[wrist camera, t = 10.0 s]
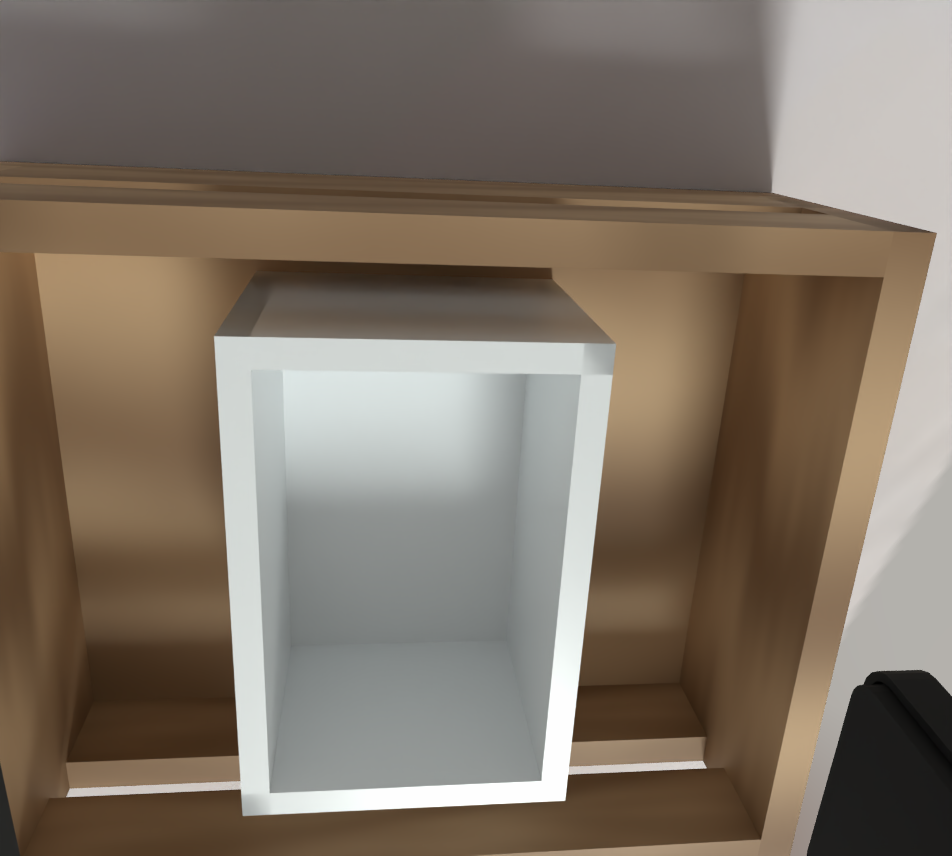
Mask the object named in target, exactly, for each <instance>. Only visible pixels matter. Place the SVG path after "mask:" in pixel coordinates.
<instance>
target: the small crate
mask: <svg viewBox="0 0 952 856" xmlns="http://www.w3.org/2000/svg"><path fill="white" fill-rule="evenodd" d="M214 344H215V361H216V378H217V395H218V411H219V428H220V445H221V462H222V479H223V495H224V512H225V529H226V546H227V563H228V579H229V596H230V613H231V630H232V646H233V663H234V680H235V697H236V714H237V730H238V747H239V764H240V781H241V798H242V814H243V816H254V815H275V814H296V813H317V812H338V811H359V810H380V809H401V808H422V807H442V806H463V805H484V804H505V803H526V802H547V801H565V798H566V789H567V780H568V771H569V762H570V753H571V744H572V735H573V726H574V717H575V708H576V699H577V691H578V682H579V673H580V664H581V655H582V646H583V637H584V628H585V619H586V610H587V601H588V592H589V583H590V574H591V565H592V556H593V547H594V538H595V529H596V521H597V512H598V503H599V494H600V485H601V476H602V467H603V458H604V449H605V440H606V431H607V422H608V413H609V404H610V395H611V386H612V377H613V368H614V360H615V351H616V343H615V342H614V341H613V340H612V339H611V338H610V337H609V336H608V335H607V334H606V333H605V332H604V331H603V330H602V329H601V328H600V327H599V326H598V325H597V324H596V323H595V322H594V321H593V320H592V319H591V318H590V317H589V316H588V315H587V314H586V313H585V312H584V311H583V310H582V309H581V308H580V307H579V306H578V305H577V304H576V303H575V302H574V300H573V299H572V298H571V297H570V296H569V295H568V294H567V293H566V292H565V291H564V290H563V289H562V288H561V287H560V286H559V285H558V284H557V283H556V282H555V281H554V280H553V279H524V278H488V277H453V276H418V275H383V274H348V273H312V272H277V271H256V273H255V274H254V276H253V277H252V279H251V280H250V282H249V283H248V285H247V286H246V288H245V290H244V291H243V293H242V294H241V296H240V297H239V299H238V300H237V302H236V303H235V305H234V306H233V308H232V309H231V311H230V313H229V314H228V316H227V317H226V319H225V320H224V322H223V323H222V325H221V326H220V328H219V329H218V331H217V332H216V334H215V336H214Z"/></svg>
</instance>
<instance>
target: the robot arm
mask: <svg viewBox="0 0 952 856" xmlns="http://www.w3.org/2000/svg"><path fill="white" fill-rule="evenodd" d="M0 856H20V853H19V848H18V843H17V839H16V834H15V829H14V825H13V820H12V815H11V811H10V806H9V801H8V797H7V792H6V787H5V783H4V778H3V773H2V769H1V764H0ZM807 856H952V696H951V695H950V694H949V693H948V692H947V691H946V689H945V688H944V687H943V686H942V685H941V684H940V683H939V682H938V681H937V679H936V678H934V677H933V676H932V675H930V673H928V672H925V671H922V670H906V671H877V672H872V673H871V674H870V675H869V676H868V677H867V678H866V680H865V682H864V684H863V685H859V686H857V687H856V688H855V689H854V690H853V693H852V695H851V698H850V702H849V706H848V709H847V713H846V716H845V720H844V723H843V727H842V731H841V734H840V737H839V741H838V745H837V748H836V752H835V755H834V759H833V762H832V766H831V769H830V773H829V776H828V780H827V783H826V787H825V791H824V794H823V798H822V801H821V805H820V808H819V812H818V815H817V819H816V823H815V826H814V830H813V833H812V837H811V840H810V844H809V847H808V851H807Z"/></svg>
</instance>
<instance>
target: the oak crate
mask: <svg viewBox="0 0 952 856" xmlns="http://www.w3.org/2000/svg"><path fill="white" fill-rule="evenodd" d="M936 234H937V233H934V232H930V231H926V230H922V229H918V228H914V227H910V226H906V225H902V224H897V223H893V222H889V221H885V220H881V219H877V218H873V217H869V216H865V215H861V214H857V213H852V212H848V211H844V210H840V209H836V208H832V207H828V206H824V205H820V204H816V203H812V202H807V201H803V200H799V199H795V198H791V197H787V196H783V195H779V194H775V193H760V192H735V191H711V190H687V189H662V188H638V187H613V186H589V185H564V184H540V183H515V182H491V181H466V180H442V179H417V178H393V177H368V176H344V175H319V174H295V173H270V172H246V171H222V170H197V169H173V168H148V167H124V166H99V165H75V164H50V163H26V162H1V161H0V764H1V769H2V773H3V778H4V783H5V787H6V792H7V797H8V801H9V806H10V811H11V815H12V820H13V825H14V829H15V834H16V839H17V843H18V848H19V853H20V856H790V852H791V848H792V844H793V840H794V836H795V831H796V827H797V823H798V819H799V814H800V810H801V806H802V801H803V797H804V793H805V789H806V785H807V780H808V776H809V772H810V768H811V763H812V759H813V755H814V751H815V747H816V742H817V738H818V734H819V730H820V725H821V721H822V717H823V712H824V708H825V704H826V699H827V696H828V692H829V687H830V683H831V679H832V674H833V670H834V666H835V662H836V658H837V653H838V649H839V645H840V641H841V636H842V632H843V628H844V624H845V619H846V615H847V611H848V607H849V603H850V598H851V594H852V590H853V586H854V581H855V577H856V573H857V569H858V564H859V560H860V556H861V552H862V547H863V543H864V539H865V535H866V530H867V526H868V522H869V518H870V514H871V509H872V505H873V501H874V497H875V492H876V488H877V484H878V480H879V475H880V471H881V467H882V463H883V458H884V454H885V450H886V446H887V441H888V437H889V433H890V429H891V425H892V420H893V416H894V412H895V408H896V403H897V399H898V395H899V391H900V386H901V382H902V378H903V374H904V369H905V365H906V361H907V357H908V352H909V348H910V344H911V340H912V336H913V331H914V327H915V323H916V319H917V314H918V310H919V306H920V302H921V297H922V293H923V289H924V285H925V280H926V276H927V272H928V268H929V263H930V259H931V255H932V251H933V247H934V242H935V238H936ZM256 271H277V272H312V273H348V274H383V275H418V276H453V277H488V278H524V279H553V280H554V281H555V282H556V283H557V284H558V285H559V286H560V287H561V288H562V289H563V290H564V291H565V292H566V293H567V294H568V295H569V296H570V297H571V298H572V299H573V300H574V302H575V303H576V304H577V305H578V306H579V307H580V308H581V309H582V310H583V311H584V312H585V313H586V314H587V315H588V316H589V317H590V318H591V319H592V320H593V321H594V322H595V323H596V324H597V325H598V326H599V327H600V328H601V329H602V330H603V331H604V332H605V333H606V334H607V335H608V336H609V337H610V338H611V339H612V340H613V341H614V342H615V343H616V351H615V360H614V368H613V377H612V386H611V395H610V404H609V413H608V422H607V431H606V440H605V449H604V458H603V467H602V476H601V485H600V494H599V503H598V512H597V521H596V529H595V538H594V547H593V556H592V565H591V574H590V583H589V592H588V601H587V610H586V619H585V628H584V637H583V646H582V655H581V664H580V673H579V682H578V691H577V699H576V708H575V717H574V726H573V735H572V744H571V753H570V762H569V766H592V765H614V764H637V763H660V762H683V761H704V763H705V765H706V767H707V769H685V770H663V771H641V772H618V773H596V774H574V775H568V780H567V789H566V798H565V801H547V802H526V803H505V804H484V805H463V806H442V807H422V808H401V809H380V810H359V811H338V812H317V813H296V814H275V815H254V816H243V814H242V798H241V790H219V791H197V792H175V793H153V794H131V795H109V796H86V797H66V796H67V794H68V791H69V789H70V788H91V787H113V786H136V785H159V784H182V783H205V782H227V781H240V764H239V747H238V730H237V714H236V697H235V680H234V663H233V646H232V630H231V613H230V596H229V579H228V563H227V546H226V529H225V512H224V495H223V479H222V462H221V445H220V428H219V411H218V395H217V378H216V361H215V344H214V336H215V334H216V332H217V331H218V329H219V328H220V326H221V325H222V323H223V322H224V320H225V319H226V317H227V316H228V314H229V313H230V311H231V309H232V308H233V306H234V305H235V303H236V302H237V300H238V299H239V297H240V296H241V294H242V293H243V291H244V290H245V288H246V286H247V285H248V283H249V282H250V280H251V279H252V277H253V276H254V274H255V273H256Z"/></svg>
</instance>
